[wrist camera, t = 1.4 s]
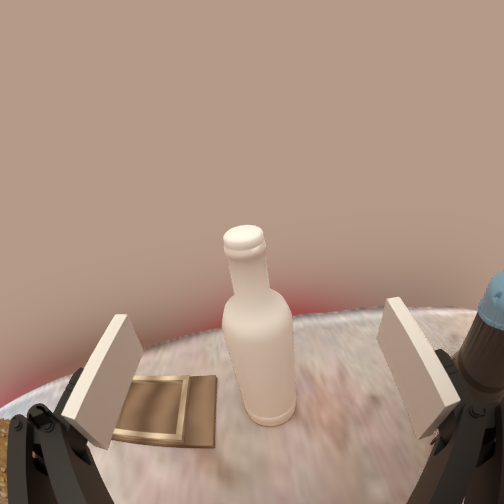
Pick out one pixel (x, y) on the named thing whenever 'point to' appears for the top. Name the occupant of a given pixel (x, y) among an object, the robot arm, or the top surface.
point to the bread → (4, 459)
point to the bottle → (258, 331)
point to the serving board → (169, 412)
